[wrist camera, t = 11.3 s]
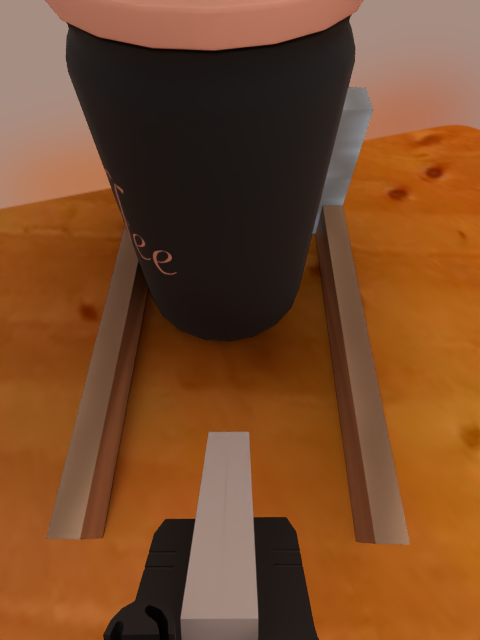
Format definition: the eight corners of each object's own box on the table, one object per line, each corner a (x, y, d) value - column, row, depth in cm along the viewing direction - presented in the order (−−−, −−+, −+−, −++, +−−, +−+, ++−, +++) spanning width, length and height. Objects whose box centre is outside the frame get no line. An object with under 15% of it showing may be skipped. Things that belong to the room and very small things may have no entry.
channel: (73, 537, 18) (-77, 544, 9) (144, 211, 30) (107, 85, 22) (385, 542, 18) (519, 553, 9) (330, 213, 30) (365, 87, 22)
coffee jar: (157, 237, 29) (62, -101, 13) (286, 229, 29) (338, -106, 14) (149, 354, 23) (-24, 13, 8) (308, 344, 24) (435, 0, 8)
